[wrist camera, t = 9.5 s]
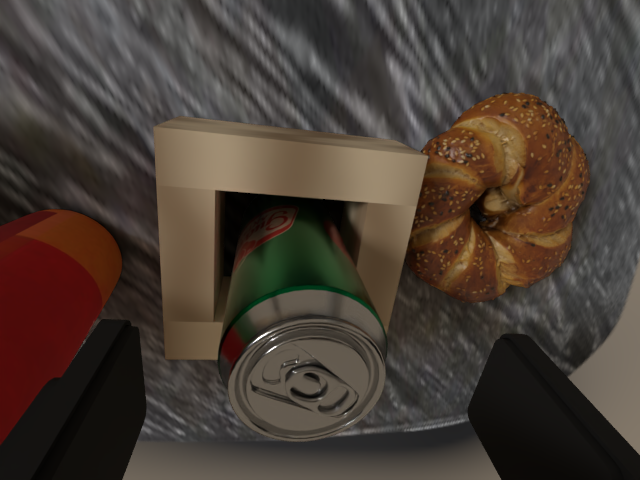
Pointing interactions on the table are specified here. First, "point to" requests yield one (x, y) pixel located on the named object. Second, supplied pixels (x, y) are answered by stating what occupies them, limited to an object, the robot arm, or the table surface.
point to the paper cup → (48, 299)
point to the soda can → (298, 325)
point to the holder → (275, 179)
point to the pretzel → (497, 199)
